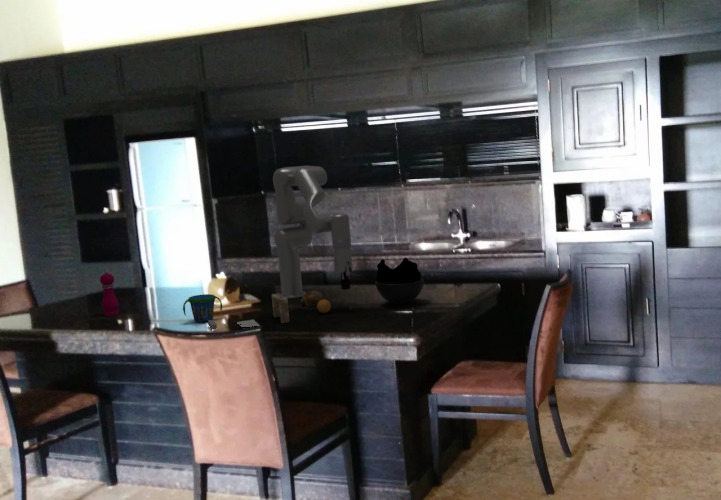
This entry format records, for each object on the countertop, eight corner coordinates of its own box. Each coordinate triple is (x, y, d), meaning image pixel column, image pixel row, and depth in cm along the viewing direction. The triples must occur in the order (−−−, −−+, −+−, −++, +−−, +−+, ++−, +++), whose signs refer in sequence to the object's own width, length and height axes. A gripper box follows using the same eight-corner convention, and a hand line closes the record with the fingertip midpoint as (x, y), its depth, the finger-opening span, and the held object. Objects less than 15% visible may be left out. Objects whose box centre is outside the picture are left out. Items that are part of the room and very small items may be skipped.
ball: (316, 312, 311) (315, 299, 310) (329, 310, 312) (327, 297, 312) (320, 315, 306) (318, 301, 305) (333, 313, 307) (332, 299, 307)
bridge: (282, 323, 296) (280, 300, 295) (273, 316, 309) (271, 294, 308) (289, 322, 297) (287, 299, 296) (280, 315, 310) (278, 293, 309)
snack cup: (222, 316, 318) (220, 292, 316) (224, 321, 308) (221, 296, 306) (184, 320, 314) (181, 296, 313) (184, 326, 304) (181, 301, 303)
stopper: (208, 326, 300) (207, 320, 299) (213, 326, 300) (212, 319, 300) (212, 331, 291) (211, 325, 291) (217, 330, 292) (216, 324, 292)
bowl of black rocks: (435, 300, 316) (432, 256, 313) (404, 310, 302) (401, 264, 299) (398, 296, 330) (395, 254, 327) (367, 306, 315) (363, 261, 313)
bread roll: (318, 315, 322) (324, 298, 320) (296, 306, 323) (302, 289, 322) (324, 310, 332) (330, 293, 330) (302, 301, 333) (308, 284, 331)
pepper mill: (123, 312, 341) (117, 268, 338) (113, 316, 334) (107, 271, 332) (109, 312, 344) (104, 268, 341) (99, 316, 337) (93, 271, 334)
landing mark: (223, 324, 302) (223, 324, 302) (253, 320, 306) (253, 319, 306) (229, 330, 290) (228, 330, 290) (259, 325, 294) (259, 325, 294)
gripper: (327, 244, 314) (331, 287, 316) (338, 246, 300) (342, 292, 302) (344, 242, 317) (348, 285, 319) (356, 244, 302) (360, 290, 305)
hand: (345, 288), depth 310 cm, fingers closed
